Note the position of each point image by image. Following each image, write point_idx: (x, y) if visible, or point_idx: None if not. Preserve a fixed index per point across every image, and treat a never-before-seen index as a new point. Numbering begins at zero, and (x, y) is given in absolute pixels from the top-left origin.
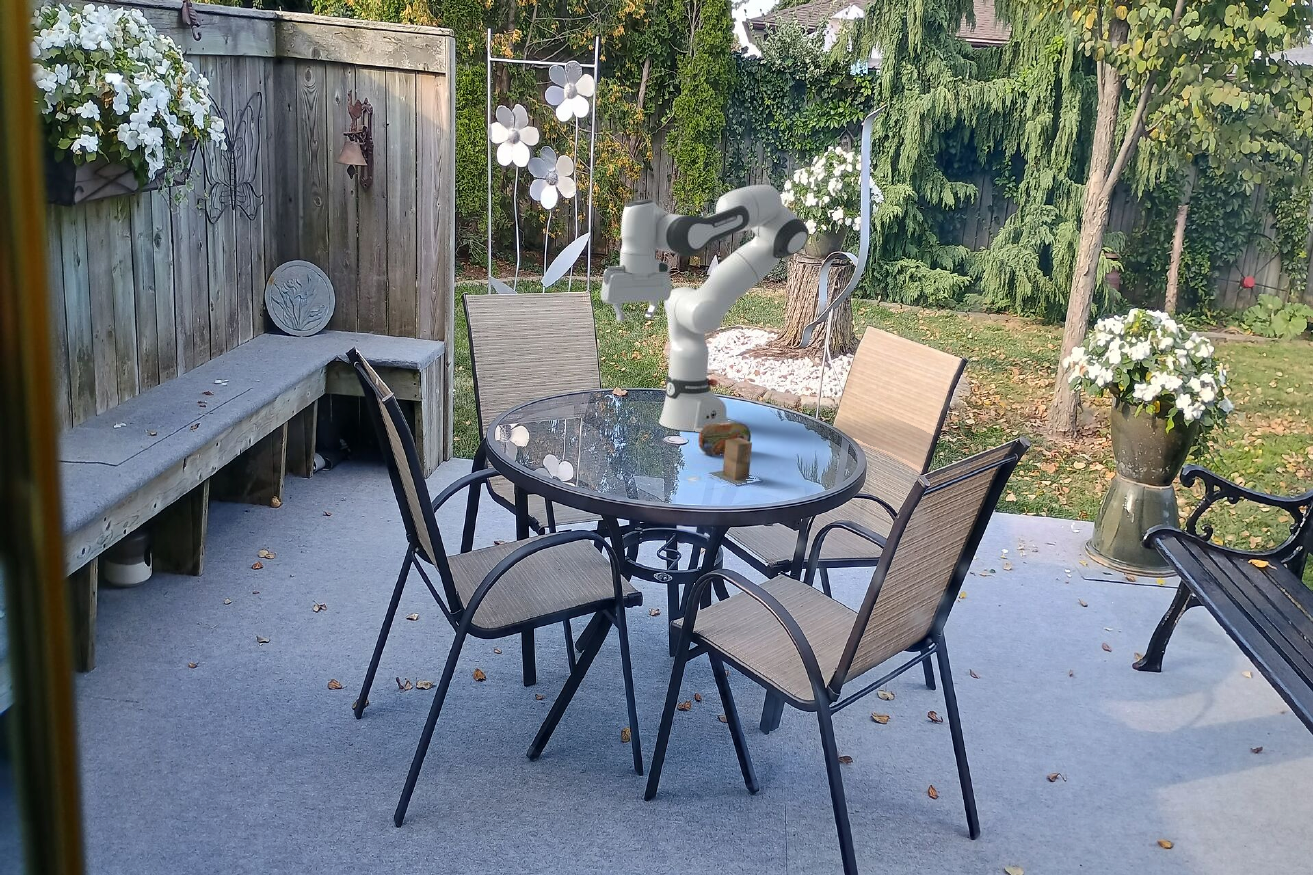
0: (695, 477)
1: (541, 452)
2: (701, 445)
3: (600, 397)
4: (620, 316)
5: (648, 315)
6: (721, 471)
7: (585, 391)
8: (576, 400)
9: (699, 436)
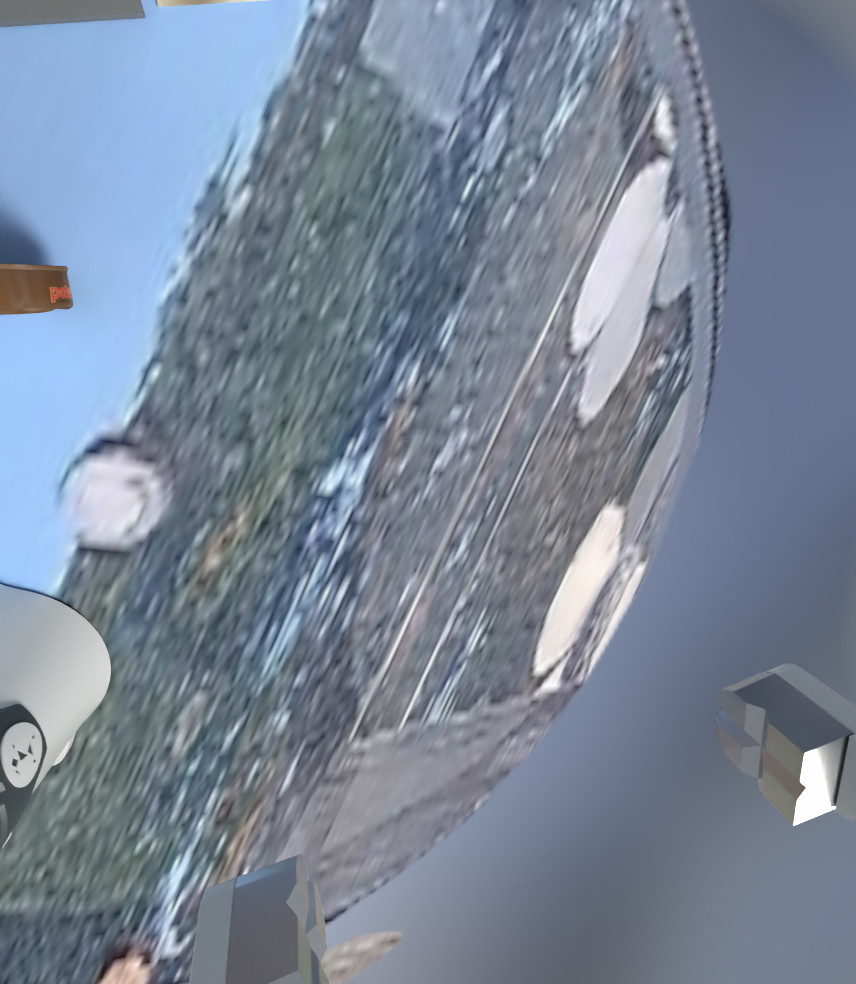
0: (226, 1)
1: (596, 443)
2: (67, 278)
3: None
4: (844, 700)
5: (299, 927)
6: (75, 6)
7: None
8: None
9: (59, 300)
